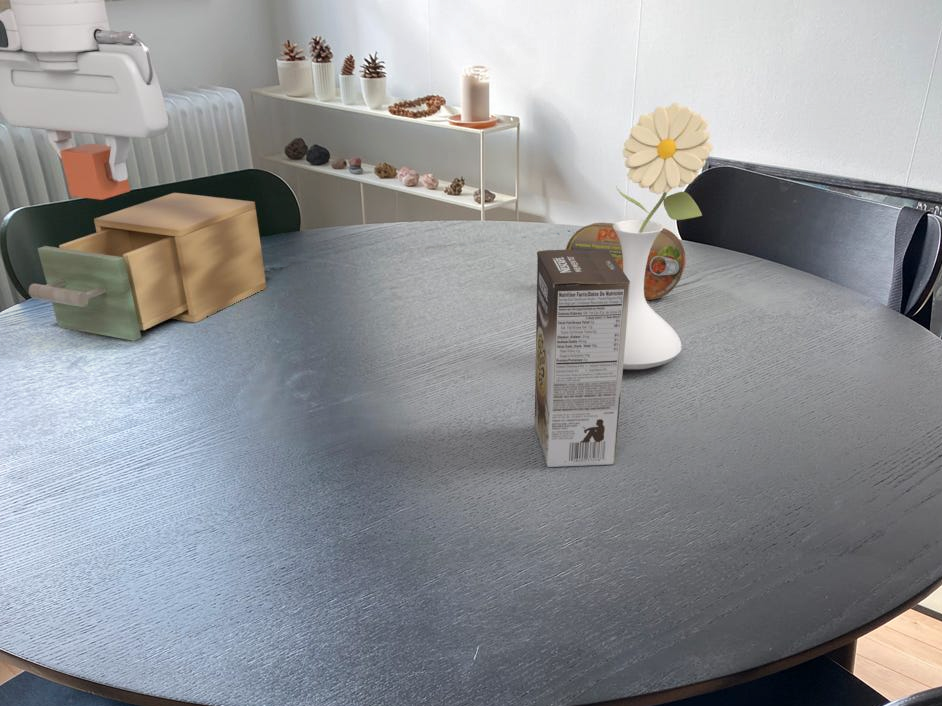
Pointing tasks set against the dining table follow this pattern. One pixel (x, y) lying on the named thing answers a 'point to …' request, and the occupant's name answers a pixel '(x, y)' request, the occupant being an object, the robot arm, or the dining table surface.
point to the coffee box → (579, 355)
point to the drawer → (113, 282)
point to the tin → (661, 262)
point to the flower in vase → (660, 168)
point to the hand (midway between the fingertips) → (96, 177)
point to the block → (90, 172)
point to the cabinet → (203, 246)
